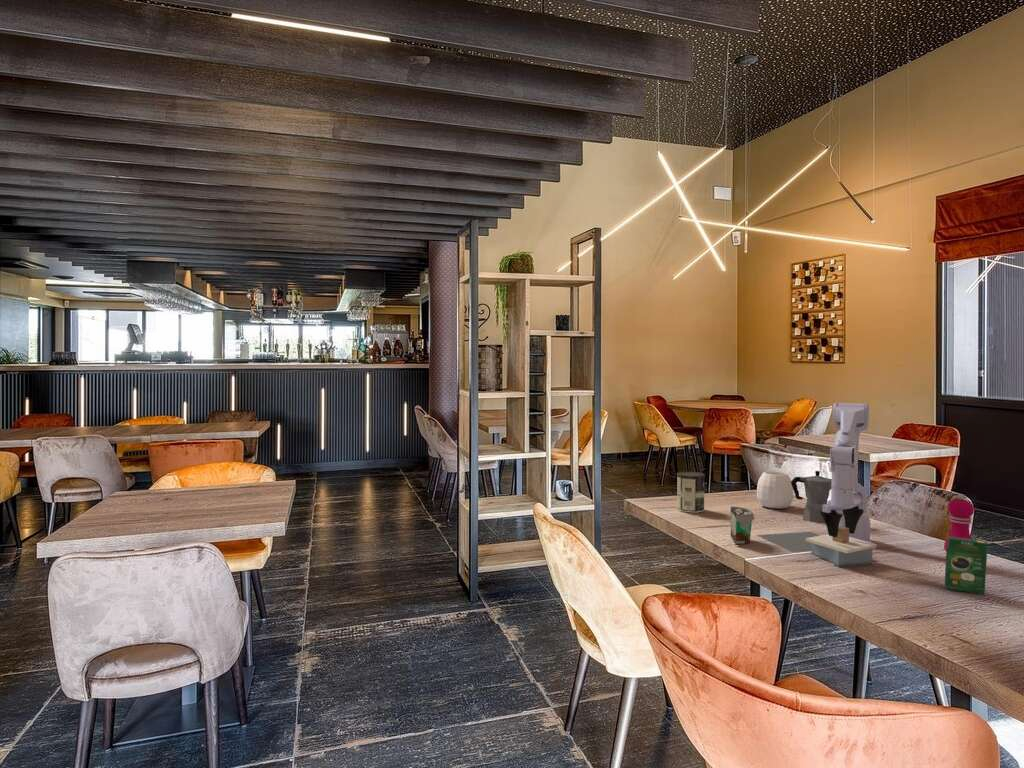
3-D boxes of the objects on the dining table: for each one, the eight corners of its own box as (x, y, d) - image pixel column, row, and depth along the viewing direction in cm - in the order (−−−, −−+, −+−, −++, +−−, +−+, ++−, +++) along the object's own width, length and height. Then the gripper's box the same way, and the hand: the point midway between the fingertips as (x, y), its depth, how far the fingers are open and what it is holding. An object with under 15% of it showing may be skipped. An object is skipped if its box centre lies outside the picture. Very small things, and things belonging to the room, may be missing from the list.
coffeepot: (832, 518, 223) (833, 469, 223) (840, 524, 214) (842, 473, 213) (787, 516, 226) (788, 467, 225) (793, 522, 217) (794, 472, 216)
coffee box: (983, 591, 152) (985, 539, 152) (986, 595, 150) (987, 542, 149) (944, 586, 156) (945, 535, 155) (946, 589, 153) (947, 538, 153)
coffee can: (699, 506, 240) (700, 471, 240) (707, 513, 230) (708, 476, 230) (673, 506, 241) (673, 471, 240) (680, 513, 230) (680, 476, 230)
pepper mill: (966, 569, 168) (968, 497, 167) (938, 562, 174) (940, 492, 174) (980, 565, 171) (982, 495, 170) (952, 558, 178) (954, 490, 177)
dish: (843, 552, 183) (843, 537, 183) (872, 564, 172) (872, 548, 172) (811, 554, 181) (811, 539, 181) (838, 567, 170) (838, 551, 170)
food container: (757, 548, 187) (757, 516, 186) (736, 547, 188) (736, 515, 188) (749, 537, 199) (750, 506, 199) (730, 536, 200) (730, 506, 200)
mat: (810, 532, 204) (810, 531, 204) (850, 549, 186) (850, 547, 186) (756, 536, 200) (756, 535, 200) (792, 553, 182) (792, 551, 182)
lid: (834, 535, 185) (834, 519, 185) (876, 547, 174) (877, 530, 173) (805, 540, 179) (805, 524, 179) (847, 553, 168) (847, 536, 168)
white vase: (775, 512, 232) (776, 477, 231) (749, 504, 244) (749, 471, 243) (800, 509, 237) (801, 474, 237) (773, 501, 249) (774, 469, 249)
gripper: (845, 483, 183) (844, 528, 183) (813, 487, 176) (812, 534, 177) (868, 487, 176) (867, 534, 177) (835, 492, 170) (834, 540, 170)
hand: (841, 534), depth 176 cm, fingers open, 7 cm apart
